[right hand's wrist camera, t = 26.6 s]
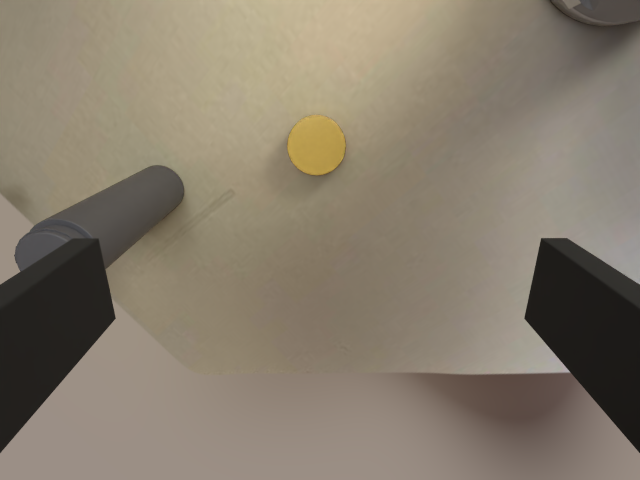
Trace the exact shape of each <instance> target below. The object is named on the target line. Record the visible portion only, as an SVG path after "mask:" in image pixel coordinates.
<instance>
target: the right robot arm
mask: <svg viewBox="0 0 640 480" xmlns="http://www.w3.org/2000/svg"><path fill="white" fill-rule="evenodd" d="M550 1H551V2H552V3H553V4H554V5H555V6H556V7H557V8H558V9H559V10H560V11H562V12H563V13H564V14H566V15H567V16H569V17H571V18H573V19H575V20H577V21H579V22H583V23H586V24H591V25H597V26H613V25H619V24H625V23H631V22H636V21H639V20H640V0H550ZM524 319H525V320H526V321H527V322H528V323H529V324H530V326H531V327H532V328H533V329H534V330H535V331H536V333H537V334H538V335H539V336H540V337H541V338H542V340H543V341H544V342H545V343H546V344H547V345H548V347H549V348H550V349H551V350H552V351H553V352H554V354H555V355H556V356H557V357H558V358H559V359H560V361H561V362H562V363H563V364H564V365H565V366H566V368H567V369H568V370H569V371H570V372H571V373H572V374H573V376H574V377H575V378H576V379H577V380H578V381H579V383H580V384H581V385H582V386H583V387H584V388H585V390H586V391H587V392H588V393H589V394H590V395H591V397H592V398H593V399H594V400H595V401H596V402H597V404H598V405H599V406H600V407H601V408H602V409H603V411H604V412H605V413H606V414H607V415H608V416H609V418H610V419H611V420H612V421H613V422H614V423H615V425H616V426H617V427H618V428H619V429H620V430H621V432H622V433H623V434H624V435H625V436H626V437H627V439H628V440H629V441H630V442H631V443H632V444H633V446H634V447H635V448H636V449H637V450H638V451H639V453H640V285H639V284H638V283H636V282H635V281H633V280H631V279H630V278H628V277H627V276H625V275H624V274H622V273H620V272H619V271H617V270H616V269H614V268H613V267H611V266H610V265H608V264H606V263H605V262H603V261H602V260H600V259H599V258H597V257H596V256H594V255H592V254H591V253H589V252H588V251H586V250H585V249H583V248H581V247H580V246H578V245H577V244H575V243H574V242H572V241H571V240H569V239H567V238H541V242H540V247H539V252H538V256H537V261H536V266H535V271H534V275H533V280H532V285H531V290H530V294H529V299H528V304H527V309H526V313H525V318H524ZM114 320H115V314H114V309H113V304H112V299H111V294H110V290H109V285H108V280H107V275H106V271H105V266H104V261H103V256H102V252H101V247H100V242H99V238H73V239H71V240H69V241H68V242H66V243H65V244H63V245H62V246H60V247H59V248H57V249H55V250H54V251H52V252H51V253H49V254H48V255H46V256H44V257H43V258H41V259H40V260H38V261H37V262H35V263H34V264H32V265H30V266H29V267H27V268H26V269H24V270H23V271H21V272H20V273H18V274H17V275H15V276H13V277H12V278H10V279H9V280H7V281H5V282H4V283H2V284H1V285H0V453H1V451H2V450H3V449H4V448H5V447H6V446H7V444H8V443H9V442H10V441H11V440H12V439H13V437H14V436H15V435H16V434H17V433H18V432H19V430H20V429H21V428H22V427H23V426H24V425H25V423H26V422H27V421H28V420H29V419H30V418H31V416H32V415H33V414H34V413H35V412H36V411H37V409H38V408H39V407H40V406H41V405H42V404H43V402H44V401H45V400H46V399H47V398H48V397H49V396H50V394H51V393H52V392H53V391H54V390H55V388H56V387H57V386H58V385H59V384H60V383H61V382H62V380H63V379H64V378H65V377H66V376H67V374H68V373H69V372H70V371H71V370H72V369H73V367H74V366H75V365H76V364H77V363H78V362H79V360H80V359H81V358H82V357H83V356H84V355H85V353H86V352H87V351H88V350H89V349H90V348H91V346H92V345H93V344H94V343H95V342H96V341H97V340H98V338H99V337H100V336H101V335H102V334H103V332H104V331H105V330H106V329H107V328H108V327H109V326H110V324H111V323H112V322H113V321H114Z"/></svg>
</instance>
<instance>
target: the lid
mask: <svg viewBox="0 0 640 480" xmlns="http://www.w3.org/2000/svg"><path fill="white" fill-rule="evenodd" d="M345 148H346V144H345V138H344V135H343V132H342V130H341V129H340V127H339V126H338V124H337V123H336V122H334V121H333V120H332V119H330V118H328V117H326V116H322V115H311V116H307V117H305V118H303V119H301V120H300V121H299V122H297V123H296V125H295V126H294V127H293V129H292V130H291V132H290V135H289V137H288V143H287V149H288V154H289V157H290V159H291V161H292V162H293V164H294V165H295V166H296V167H297V168H298V169H299V170H301V171H302V172H304V173H307V174H310V175H323V174H327V173H329V172H331V171H333V170H334V169H335V168H336V167H337V166H338V165H339V164H340V163H341V161H342V159H343V157H344V154H345Z"/></svg>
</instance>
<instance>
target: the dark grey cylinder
mask: <svg viewBox="0 0 640 480" xmlns="http://www.w3.org/2000/svg"><path fill="white" fill-rule="evenodd" d="M183 195H184V187H183V183H182V181H181V179H180V178H179V176H178V175H177V174H176V173H175V172H174V171H173V170H171V169H169V168H167V167H164V166H159V165H155V166H150V167H148V168H146V169H144V170H142V171H140V172H138V173H136V174H134V175H132V176H130V177H128V178H126V179H124V180H122V181H120V182H118V183H116V184H114V185H112V186H110V187H108V188H106V189H104V190H102V191H101V192H99V193H97V194H95V195H93V196H91V197H89V198H87V199H85V200H83V201H81V202H79V203H77V204H75V205H73V206H71V207H69V208H67V209H65V210H63V211H61V212H59V213H57V214H55V215H53V216H51V217H49V218H47V219H45V220H43V221H41V222H40V223H38V224H36V225H35V226H34V227H33V228H32V229H31V230H30V232H29V233H27V234H26V235H25V236H24V237H23V238H21V239H20V241H19V243H18V245H17V246H16V251H15V255H14V256H15V260H16V263H17V265H18V267H19V269H20V271H23V270H24V269H26V268H27V267H29V266H30V265H32V264H34V263H35V262H37V261H38V260H40V259H41V258H43V257H44V256H46V255H48V254H49V253H51V252H52V251H54V250H55V249H57V248H59V247H60V246H62V245H63V244H65V243H66V242H68V241H69V240H71V239H73V238H99V242H100V247H101V252H102V256H103V261H104V266H105V269H106V268H107V267H109V266H110V265H111V264H112V263H113V262H114V261H115V260H116V259H118V258H119V257H120V256H121V255H122V254H123V253H124V252H126V251H127V250H128V249H129V248H130V247H131V246H132V245H133V244H135V243H136V242H137V241H138V240H139V239H140V238H141V237H143V236H144V235H145V234H146V233H147V232H148V231H149V230H150V229H152V228H153V227H154V226H155V225H156V224H157V223H158V222H160V221H161V220H162V219H163V218H164V217H165V216H166V215H168V214H169V213H170V212H171V211H172V210H173V209H174V208H175V207H177V206H178V205H179V204H180V202H181V201H182V198H183Z"/></svg>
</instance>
